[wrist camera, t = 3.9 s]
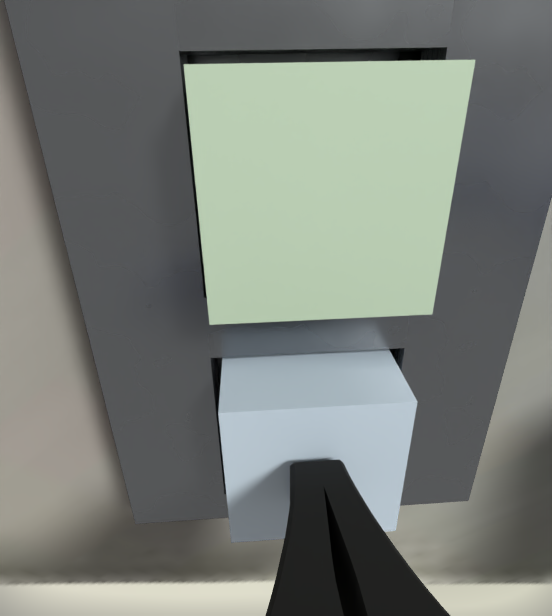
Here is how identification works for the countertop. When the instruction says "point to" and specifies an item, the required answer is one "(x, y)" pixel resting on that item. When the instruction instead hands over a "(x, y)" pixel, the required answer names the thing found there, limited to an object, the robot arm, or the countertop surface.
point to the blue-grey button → (311, 431)
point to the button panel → (186, 229)
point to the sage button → (324, 185)
